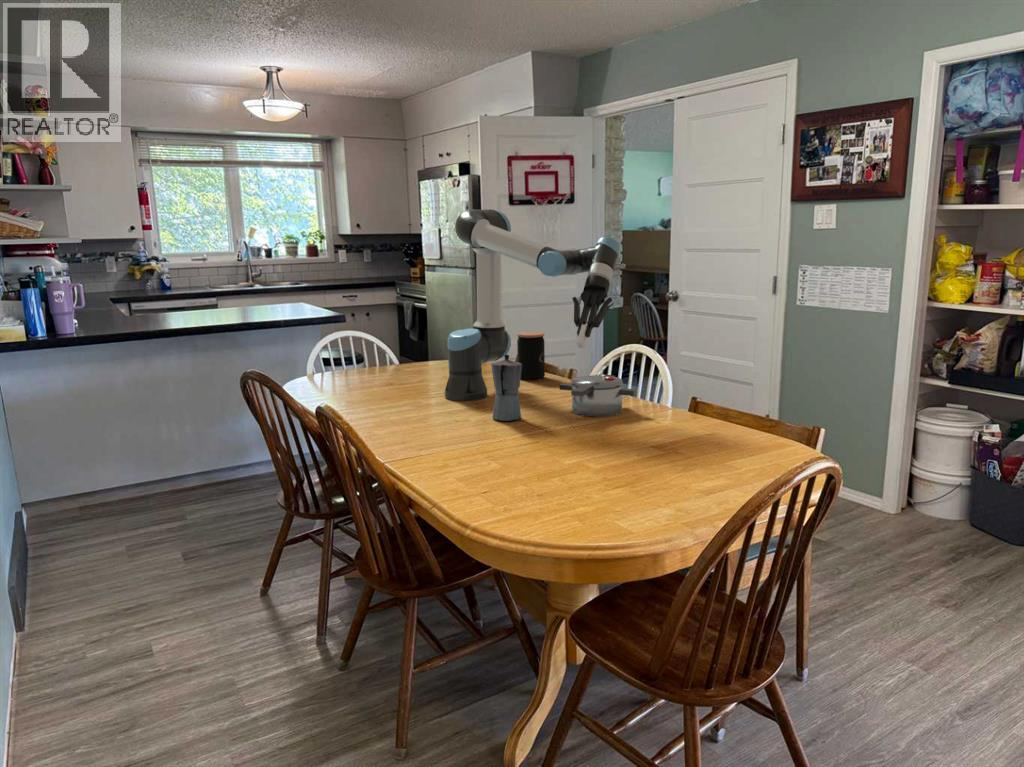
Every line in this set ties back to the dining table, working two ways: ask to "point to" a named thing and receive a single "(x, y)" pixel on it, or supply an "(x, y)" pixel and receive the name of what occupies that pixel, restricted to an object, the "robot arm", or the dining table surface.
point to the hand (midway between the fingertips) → (580, 345)
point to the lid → (594, 383)
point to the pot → (598, 401)
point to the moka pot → (506, 389)
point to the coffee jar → (531, 355)
